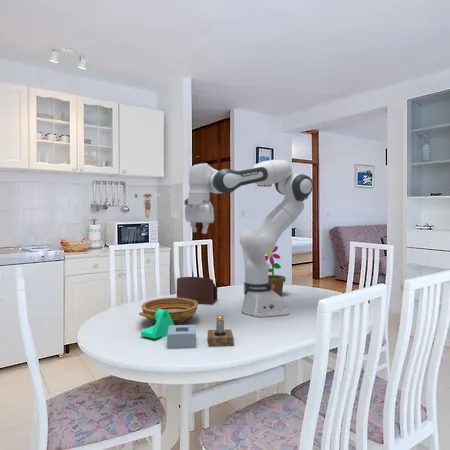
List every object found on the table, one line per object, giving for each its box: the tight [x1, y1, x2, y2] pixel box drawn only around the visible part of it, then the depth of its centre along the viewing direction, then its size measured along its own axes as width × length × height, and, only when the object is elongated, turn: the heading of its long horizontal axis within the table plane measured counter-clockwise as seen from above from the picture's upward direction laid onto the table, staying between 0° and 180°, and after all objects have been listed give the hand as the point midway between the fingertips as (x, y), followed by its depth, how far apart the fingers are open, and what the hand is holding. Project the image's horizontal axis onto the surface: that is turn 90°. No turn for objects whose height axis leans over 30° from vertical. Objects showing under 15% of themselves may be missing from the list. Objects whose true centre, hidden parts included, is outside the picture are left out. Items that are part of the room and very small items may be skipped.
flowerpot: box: [265, 245, 286, 297], centre depth 209 cm, size 14×14×30 cm
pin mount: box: [207, 328, 235, 347], centre depth 136 cm, size 9×9×3 cm
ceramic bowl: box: [138, 297, 199, 325], centre depth 159 cm, size 30×24×8 cm
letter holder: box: [176, 276, 218, 306], centre depth 194 cm, size 10×20×14 cm, turn 78°
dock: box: [166, 324, 197, 349], centre depth 135 cm, size 10×10×5 cm
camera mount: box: [140, 309, 174, 340], centre depth 144 cm, size 12×8×10 cm, turn 150°
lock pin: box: [215, 314, 225, 336], centre depth 136 cm, size 3×3×10 cm
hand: (199, 232), depth 159 cm, fingers open, 8 cm apart
